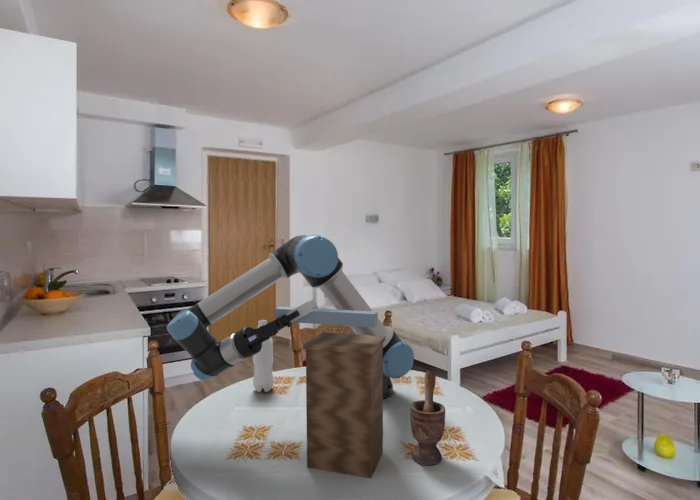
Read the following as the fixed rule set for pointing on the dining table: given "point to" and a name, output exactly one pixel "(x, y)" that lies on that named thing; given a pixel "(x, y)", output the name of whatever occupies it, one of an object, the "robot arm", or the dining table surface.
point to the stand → (344, 402)
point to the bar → (334, 317)
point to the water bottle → (263, 365)
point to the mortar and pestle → (427, 425)
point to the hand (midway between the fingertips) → (312, 305)
